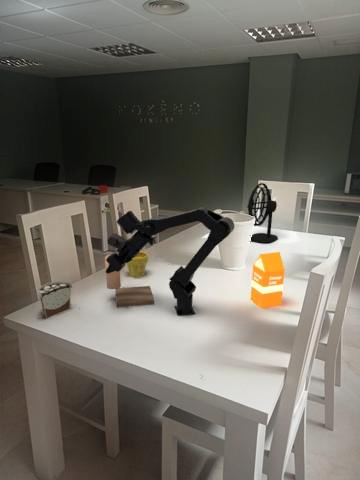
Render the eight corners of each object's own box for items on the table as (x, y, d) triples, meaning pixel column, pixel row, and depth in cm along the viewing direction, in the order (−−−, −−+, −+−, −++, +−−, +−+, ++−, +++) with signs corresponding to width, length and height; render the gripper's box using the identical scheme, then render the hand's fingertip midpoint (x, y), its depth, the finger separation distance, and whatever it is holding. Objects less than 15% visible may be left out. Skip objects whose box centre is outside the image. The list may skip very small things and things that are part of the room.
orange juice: (250, 300, 134) (253, 251, 129) (269, 296, 137) (273, 248, 132) (261, 309, 127) (265, 257, 122) (281, 305, 130) (286, 255, 125)
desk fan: (257, 232, 235) (261, 180, 225) (282, 236, 225) (288, 182, 215) (239, 241, 214) (242, 184, 204) (265, 246, 204) (271, 186, 194)
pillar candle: (121, 288, 130) (119, 258, 126) (107, 289, 128) (104, 259, 125) (120, 283, 134) (118, 254, 131) (106, 284, 133) (104, 254, 130)
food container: (64, 302, 130) (62, 278, 127) (73, 307, 126) (71, 282, 123) (33, 314, 121) (30, 288, 118) (42, 320, 117) (39, 293, 114)
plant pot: (142, 280, 152) (141, 259, 149) (121, 277, 155) (120, 256, 152) (151, 272, 161) (151, 252, 158) (131, 269, 164) (131, 249, 162)
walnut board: (154, 304, 130) (154, 300, 129) (116, 307, 127) (116, 303, 126) (149, 289, 143) (149, 285, 142) (115, 291, 140) (115, 288, 140)
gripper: (129, 221, 133) (104, 247, 138) (109, 233, 116) (82, 262, 121) (149, 242, 134) (124, 267, 139) (133, 257, 116) (104, 285, 121)
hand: (109, 270), depth 130 cm, fingers closed on pillar candle, 5 cm apart
